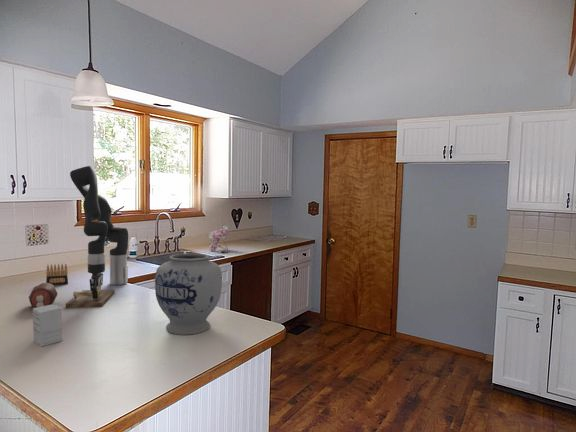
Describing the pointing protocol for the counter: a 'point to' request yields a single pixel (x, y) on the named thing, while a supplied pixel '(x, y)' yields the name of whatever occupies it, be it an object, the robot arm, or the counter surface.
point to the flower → (217, 237)
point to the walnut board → (87, 302)
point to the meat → (43, 295)
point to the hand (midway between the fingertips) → (96, 296)
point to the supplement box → (47, 324)
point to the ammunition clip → (57, 275)
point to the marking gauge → (87, 293)
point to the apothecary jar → (188, 292)
